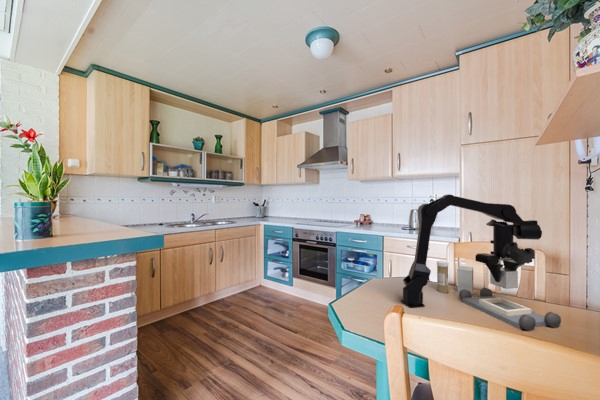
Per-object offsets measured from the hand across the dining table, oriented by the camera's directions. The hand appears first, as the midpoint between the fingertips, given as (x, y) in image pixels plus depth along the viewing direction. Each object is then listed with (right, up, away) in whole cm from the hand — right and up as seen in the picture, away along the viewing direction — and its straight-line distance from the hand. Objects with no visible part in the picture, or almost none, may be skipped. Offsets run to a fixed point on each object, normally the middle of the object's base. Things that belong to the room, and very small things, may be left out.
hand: (503, 281), depth 92 cm
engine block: (0, -2, 0) cm, 2 cm away
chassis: (0, -11, 0) cm, 11 cm away
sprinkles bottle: (-10, -12, +21) cm, 26 cm away
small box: (0, -12, +21) cm, 24 cm away
